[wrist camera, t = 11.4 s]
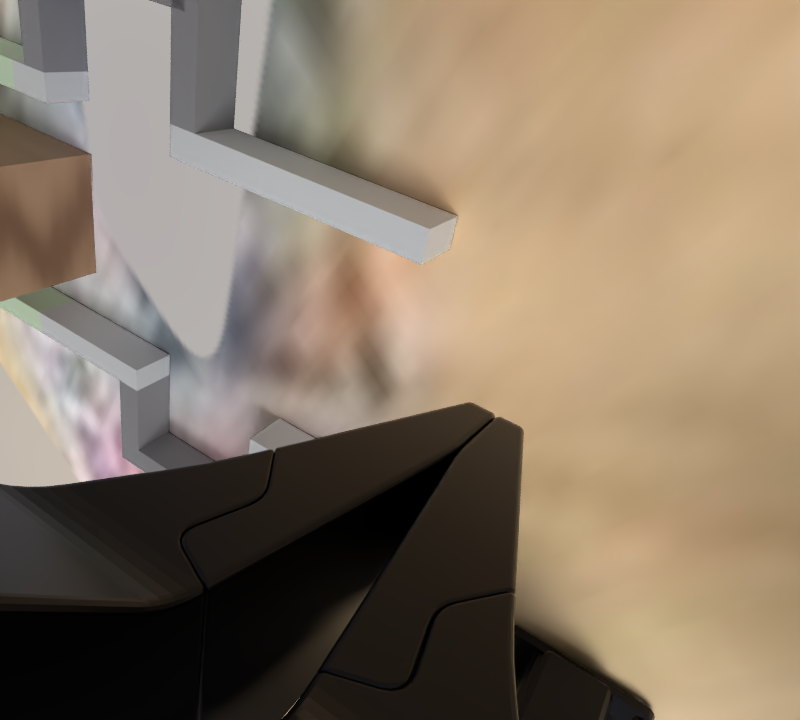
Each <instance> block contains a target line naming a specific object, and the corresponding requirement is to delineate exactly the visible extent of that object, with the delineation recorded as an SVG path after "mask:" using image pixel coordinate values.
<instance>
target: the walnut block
mask: <svg viewBox="0 0 800 720" xmlns="http://www.w3.org/2000/svg"><path fill="white" fill-rule="evenodd" d="M90 164H91V168H90ZM91 173H92V181H93V171H92V154H91V153H89V154H88V153H86V152H84V151H82V150H80V149H77V148H75V147H73V146H71V145H69V144H66V143H64V142H62V141H60V140H58V139H55V138H53V137H51V136H49V135H47V134H44V133H42V132H40V131H38V130H36V129H33V128H31V127H29V126H27V125H25V124H22V123H20V122H18V121H16V120H14V119H12V118H9V117H7V116H5V115H3V114H1V113H0V302H2V301H5V300H8V299H11V298H15V297H18V296H21V295H24V294H28V293H31V292H34V291H37V290H41V289H44V288H47V287H50V286H53V285H57V284H60V283H63V282H66V281H70V280H73V279H76V278H79V277H83V276H86V275H89V274H92V273H96V260H95V242H94V224H93V205H92V187H91Z"/></svg>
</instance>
